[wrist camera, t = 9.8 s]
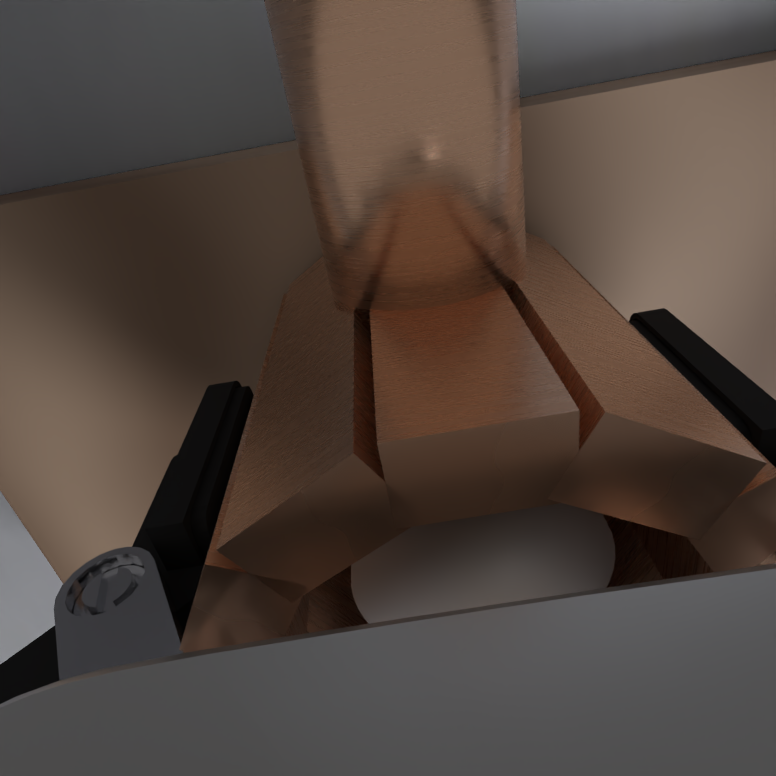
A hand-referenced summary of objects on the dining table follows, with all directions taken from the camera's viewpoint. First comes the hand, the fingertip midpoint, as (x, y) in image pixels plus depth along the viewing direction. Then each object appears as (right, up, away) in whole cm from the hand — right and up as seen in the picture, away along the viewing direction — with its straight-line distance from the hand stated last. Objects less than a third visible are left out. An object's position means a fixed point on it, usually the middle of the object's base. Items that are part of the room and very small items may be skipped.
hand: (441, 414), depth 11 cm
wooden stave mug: (0, +2, 0) cm, 2 cm away
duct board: (0, +2, +3) cm, 3 cm away
